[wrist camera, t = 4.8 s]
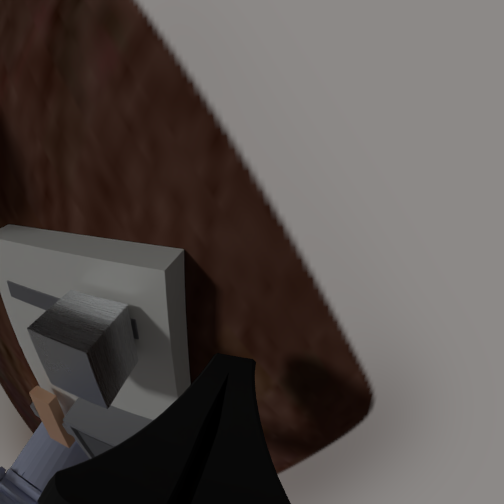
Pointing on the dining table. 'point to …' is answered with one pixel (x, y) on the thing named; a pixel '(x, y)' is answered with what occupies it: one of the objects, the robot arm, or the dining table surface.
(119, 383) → the slider knob
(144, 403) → the control panel
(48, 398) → the rocker switch
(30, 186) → the dining table surface
